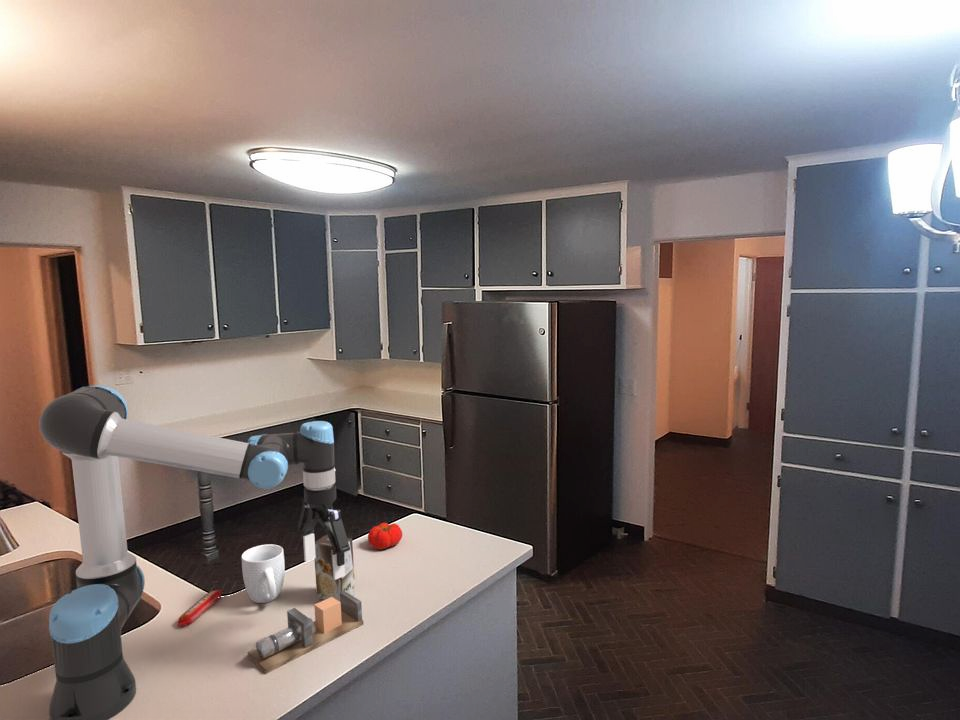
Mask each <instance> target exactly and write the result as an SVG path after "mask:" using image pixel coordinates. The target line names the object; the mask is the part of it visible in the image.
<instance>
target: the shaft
mask: <svg viewBox="0 0 960 720" xmlns="http://www.w3.org/2000/svg"><path fill="white" fill-rule="evenodd" d="M308 618H309V619H311V621H312V635H314V634H315V631H316V629H315V624H314V620H313V619H312V617H308ZM301 640H302V637H301V626H300V625H299V624H298V623H297V624H295V625H292V626H290V627H288V626H287V627H286V628H284V629H282V630H280V631H277V632H275V633H273V634H270V635H268V636H266V637H264V638H262V639H260V640H258V641H257V642H256V643H255V649H257V653H258V655H259V657H260V658H261V659H264V658H266V657H268V656H270V655H272V654H275V653H277V652H279V651H281V650H283V649H285V648H287V647H289V646H291V645H293V644H295V643H297V642H299V641H301Z"/></svg>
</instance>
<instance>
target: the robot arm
mask: <svg viewBox="0 0 960 720" xmlns="http://www.w3.org/2000/svg"><path fill="white" fill-rule="evenodd" d="M128 415H129V408H128V404H127V401H126V400H125V398H124V397H123V395H122V394H121V393H119V392H118V391H117V390H115V389H114V388H112V387H108V386H106V385H98V384H97V385H87V386H82V387H80V388H79V387H78V388H77V389H75V390H74V391H71V392H69V393H66V394H64V395H61V396H59V397H57V398H55V399H54V400H52V401H50V402H49V403H48V404H47V405H46V406H45V408H44V409H43V411H42V412H41V414H40V417H39V419H38V421H39V423H38V429H39V432H40V434H41V437H42V438H43V440H44V441H45V442H46V443H47V445H49V446H50V447H52V448H54V449H56V450H57V451H60V452H61V453H62V454H63V455H64V456H66V457H68V458H69V459H70V460H71V465H72V466H71V467H72V468H71V469H72V474H73V475H72V476H73V482H74V493H75V501H76V511H77V520H78V528H79V529H78V530H79V537H80V547H81V548H80V549H81V555H82V563H81V564H80V565H78V567H77V568H76V570H75V580H76V589H73V590H72V591H71V592H70V593H66V594H64V595H63V596H62V597H60V598H59V599H58V600H57V601H56V602H55V603H54V604H53V606H52V608H51V609H50V612H49V620H48V621H49V622H48V632H49V635H50V641H51V648H52V649H51V650H52V656H53V664H54V665H53V666H54V671H55V672H54V673H55V680H56V681H55V684H54V687H53V692H52V696H51V699H50V703H49V707H48V714H49V720H109V719H111V718H113V717H114V716H116V715H117V714H119V713H120V712H121V711H123V710H124V709H125V708H126V707H127V706H128V705H130V703H132V701H133V699H134V698H135V696H136V693H137V683H136V679H135V676H134V674H133V672H132V670H131V669H130V668H129V666H128V665H129V664H127V662H126V660H125V659H124V658H125V657H124V653H123V643H122V628H123V627H124V625H125V623H126V622H127V620H128V619H129V617H130V615H131V614H132V613H133V611H134V609H135V607H136V606H137V605H138V603H139V602H140V601H141V599H142V596H143V593H144V590H145V585H146V584H145V580H146V579H145V575H144V573H143V570H142V568H141V567H140V566H138V565H137V557H136V556H135V554H132V553H130V552H129V551H128V542H127V533H126V522H125V513H124V503H123V502H124V501H123V493H122V492H123V491H122V483H121V471H120V466H119V465H120V462H119V458H123V459H127V460H134V461H141V462H144V463H145V462H146V463H150V464H151V463H152V464H156V465H157V464H158V465H163V466H167V467H168V466H169V467H174V468H179V469H183V470H190V471H196V472H201V473H202V472H203V473H208V474H213V475H220V476H224V477H225V476H226V477H229V478H230V477H231V478H235V479H241V480H247V481H250V482H251V484H252V485H254V486H255V487H256V488H259V489H261V490H262V489H263V490H268V489H273V488H275V487H277V486H278V485H280V484H281V482H282V481H283V480H284V479H285V476H286V474H287V473H288V470H289V466H290V465H299V464H300V465H301V464H302V476H303V477H302V480H303V486H304V488H303V496H304V498H303V499H302V500H301V501H302V506H301V507H302V508H301V511H300V516H299V520H298V523H297V531H299V532H301V535H302V537H303V538H302V540H303V555H304V556H303V560H304V562H306V563H307V562H309V561H312V560H314V559H315V558H316V556H315V542H316V541H315V540H316V539H315V533H314V532H315V530H314V529H315V528H316V526H317V524H319V525H320V526H321V528H322V529H324V530H325V533H326V535H328V538H329V540H330V542H331V545H332V547H333V550H334V552H333V553H332V557H333V577H334V579H335V580H336V579H338V578H341V577H343V576H345V561H344V560H345V557H344V552H346V551H349V550H350V546H349V543H348V539H347V538H348V537H347V534H346V533H347V532H346V530H345V526H344V524H343V520H342V511H341V509H339V508H338V509H334V507H333V503H334V502H335V501H336V499H337V485H336V484H335V483H336V468H335V465H336V464H335V460H336V458H335V439H334V430H333V429H334V427H333V425H332V424H331V423H330V422H328V421H325V420H314V421H308V422H305V423H303V424H301V425H300V429H299V431H296V432H287V433H286V432H285V433H273V434H272V433H270V434H268V433H267V434H266V433H264V434H259V435H252V436H250V437H249V438H248V441H247V442H244V441H238V440H233V439H229V438H223V437H219V436H213V435H208V434H203V433H198V432H193V431H188V430H183V429H177V428H172V427H167V426H162V425H156V424H152V423H146V422H141V421H137V420H132V419H128Z"/></svg>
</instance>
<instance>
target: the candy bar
mask: <svg viewBox="0 0 960 720" xmlns="http://www.w3.org/2000/svg"><path fill="white" fill-rule="evenodd" d="M222 593H223V589H222V590H217V589H216V590H212V591H208V593H206V594H205V595H203V597H201V598H200V599H199V600H197V602H195V603H194V604H193V605H192V606H191V607H189V608H188V609H187V610H186V611H185V612H183V613H182V614H181V615H180V617H178V619H177V625H176V627H178V626H180V627H184V626H188V625H191V624H192V623H194V622H195V621H196V620H198V619H199V618H200V617H201V616H202V615H203V614H204V613H205V612H207V610H209V609H210V608H211V607H212V606H213V605H214V604H215V603H216V602H218V601H219V600H220V599H221V598H222ZM218 597H220V598H218Z"/></svg>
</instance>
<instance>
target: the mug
mask: <svg viewBox="0 0 960 720" xmlns="http://www.w3.org/2000/svg"><path fill="white" fill-rule="evenodd" d="M285 567H286V566H285V553H284V548H283V547H282V546H280V545H277V544H272V543H271V544H270V543H269V544H267V543H266V544H261V545H256V546H253V547H251V548H248V549H247V550H245V551H244V552H243V553H242V554H241V568H242V577H243V578H242V579H243V582H244V588H245V589H246V592H247V595H248V596H249V597H250V598H251V600H252V601H253V602H255V603H256V604H257V603H258V604H266V603H270V602H273V601H274V600H276V599H277V598H278V597H279V595H280V593H281V591H282V590H283V589H282V588H283V587H284V582H285V581H284V580H285V573H286V572H285V569H286V568H285Z"/></svg>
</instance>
